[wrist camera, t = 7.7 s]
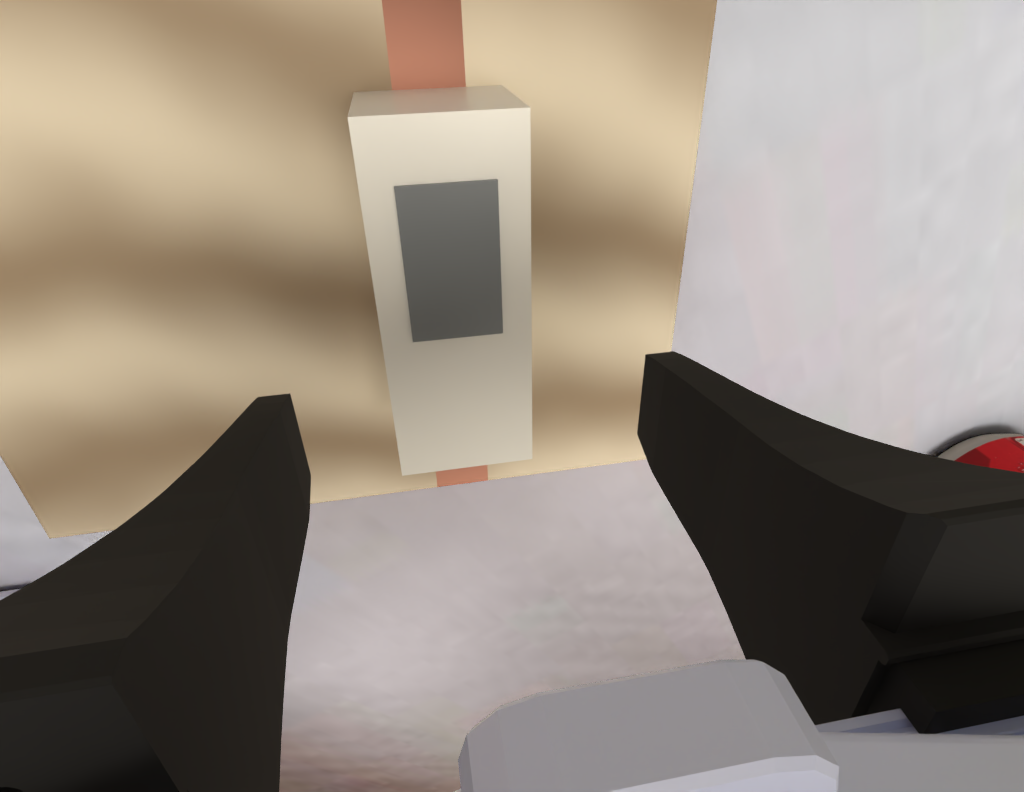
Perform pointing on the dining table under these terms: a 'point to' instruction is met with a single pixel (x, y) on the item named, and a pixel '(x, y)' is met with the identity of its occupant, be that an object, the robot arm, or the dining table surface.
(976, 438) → the soda can
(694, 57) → the board
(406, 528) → the dining table surface
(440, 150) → the block
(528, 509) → the dining table surface
